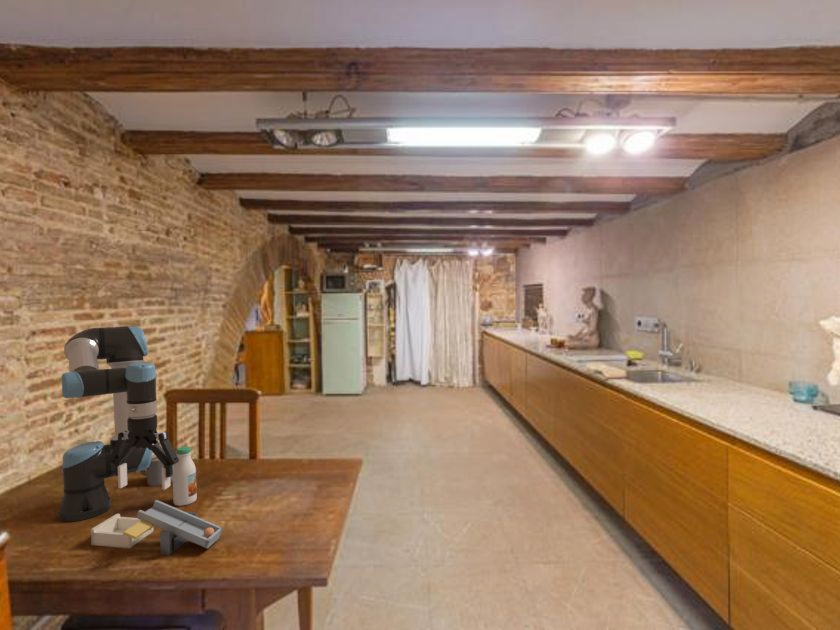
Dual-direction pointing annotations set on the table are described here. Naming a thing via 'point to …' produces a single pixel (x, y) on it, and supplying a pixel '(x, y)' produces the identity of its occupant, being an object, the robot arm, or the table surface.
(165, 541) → the fulcrum
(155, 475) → the coffee mug
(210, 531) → the ball
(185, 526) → the lever
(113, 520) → the tray
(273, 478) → the table surface
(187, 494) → the milk bottle
